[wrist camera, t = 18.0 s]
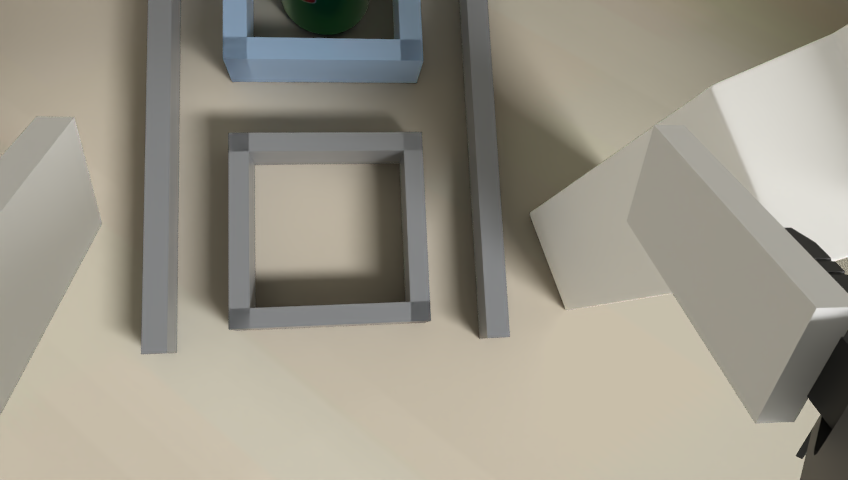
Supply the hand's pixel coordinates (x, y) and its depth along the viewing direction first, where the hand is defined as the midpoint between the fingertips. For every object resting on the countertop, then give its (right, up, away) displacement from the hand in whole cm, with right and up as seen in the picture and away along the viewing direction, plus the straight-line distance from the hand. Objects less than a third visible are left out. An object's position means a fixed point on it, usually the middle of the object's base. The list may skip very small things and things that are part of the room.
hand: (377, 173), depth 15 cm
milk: (+11, -2, +23) cm, 25 cm away
